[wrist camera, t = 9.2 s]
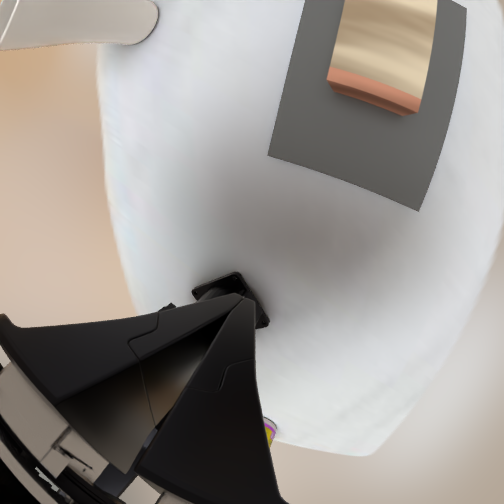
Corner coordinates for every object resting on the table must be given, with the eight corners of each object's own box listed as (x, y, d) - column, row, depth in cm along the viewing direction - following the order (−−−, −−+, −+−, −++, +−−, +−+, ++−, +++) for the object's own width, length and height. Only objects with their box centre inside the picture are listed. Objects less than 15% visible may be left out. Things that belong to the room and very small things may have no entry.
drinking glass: (174, -10, 15) (39, -48, 2) (158, 49, 18) (7, 40, 6) (125, 2, 16) (4, -12, 4) (112, 55, 20) (-16, 61, 7)
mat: (417, 209, 17) (418, 211, 17) (269, 154, 20) (267, 155, 19) (464, 10, 8) (466, 8, 8) (316, -38, 11) (315, -41, 10)
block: (417, 112, 10) (438, -42, 4) (326, 79, 11) (358, -67, 5) (402, 116, 15) (425, -12, 8) (333, 91, 16) (361, -33, 9)
